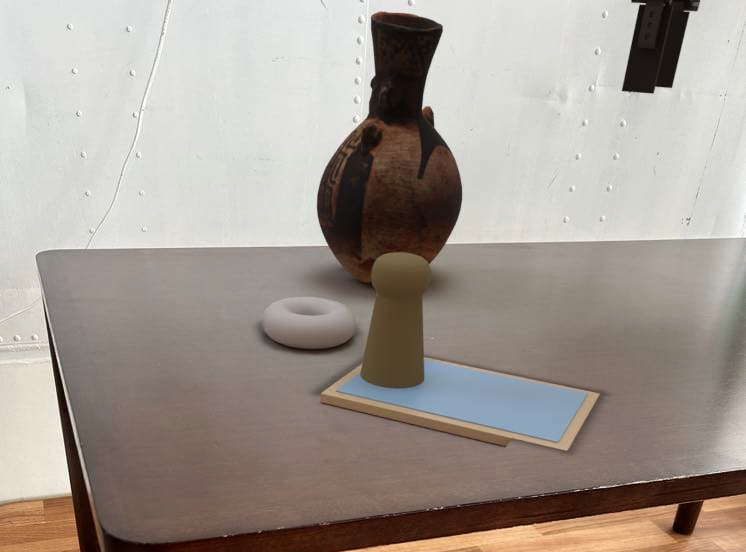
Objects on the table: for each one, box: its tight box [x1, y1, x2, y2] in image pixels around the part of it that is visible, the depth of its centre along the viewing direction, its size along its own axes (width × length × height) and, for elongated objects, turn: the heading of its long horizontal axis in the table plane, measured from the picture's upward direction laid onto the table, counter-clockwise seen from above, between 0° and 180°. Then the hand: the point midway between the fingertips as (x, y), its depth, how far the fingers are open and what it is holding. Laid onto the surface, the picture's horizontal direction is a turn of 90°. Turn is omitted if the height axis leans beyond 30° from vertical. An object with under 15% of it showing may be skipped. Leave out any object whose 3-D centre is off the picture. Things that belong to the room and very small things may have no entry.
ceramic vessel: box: [316, 10, 463, 283], centre depth 101 cm, size 21×18×30 cm
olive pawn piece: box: [360, 252, 432, 388], centre depth 73 cm, size 6×6×11 cm
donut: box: [261, 296, 357, 350], centre depth 86 cm, size 10×4×10 cm
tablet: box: [320, 356, 601, 452], centre depth 74 cm, size 22×14×1 cm, turn 64°
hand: (648, 90), depth 78 cm, fingers open, 13 cm apart
